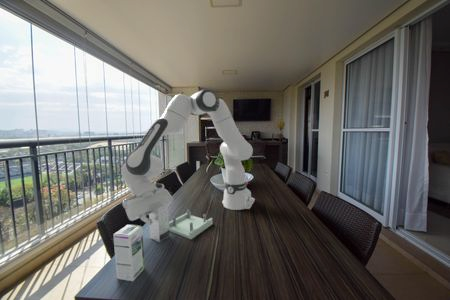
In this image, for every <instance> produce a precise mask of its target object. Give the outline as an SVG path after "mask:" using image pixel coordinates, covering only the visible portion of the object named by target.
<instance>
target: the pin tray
mask: <svg viewBox="0 0 450 300" xmlns="http://www.w3.org/2000/svg"><path fill="white" fill-rule="evenodd" d="M202 217H203V218H202ZM202 217H199V216H195V215H193V214H191V209H187V210H186V213H184V214H182V215H180V216H178V217H176V216H173V217H172V220H171V221H170V220H169V232H171V233H174V234H175V235H176V234H177V235H179V236H182V237H184V238H186V239H189V240H193V239H194V238H195V237H197V236H199V234H200V233H202V232H204V231H206V229H208V228H209V227H211V226H212V225H213V223H214V222H213V217H210V218H208V219H207V215H206V214H205V213H204V214H203V215H202Z"/></svg>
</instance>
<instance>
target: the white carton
mask: <svg viewBox="0 0 450 300" xmlns="http://www.w3.org/2000/svg"><path fill="white" fill-rule="evenodd" d="M168 206H169V205H168V204H165V203H161V202H157V203H154V204H151V205H149V207H150V209H151V211H150V212H149V214H148V219H151V220H152V221H153V223H152V224H151V225H149V237H150V240H154V241H155V242H158V243H161V242H163V241H165V240H166V239H168V238H169V237H170V231H169V222H170V220H169V218H170V217H169V216H170V215H169V213H168Z"/></svg>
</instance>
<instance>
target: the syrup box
mask: <svg viewBox="0 0 450 300" xmlns="http://www.w3.org/2000/svg"><path fill="white" fill-rule="evenodd" d="M143 233H144V232H143V226H142V225H138V224H126V225H125V226H124V227H122V228H120V229H119V230H118V231H116V232H115V233H113V245H114V246H113V247H114V259H115V260H114V261H115V269H116V271H115V272H116V278H117V280H122V281H128V282H134V281H135V280H136V278H137V277H138V276H139V275H140V274H141V273H143V271H144V270H145V268H146V263H145V262H146V261H145V249H144V235H143Z"/></svg>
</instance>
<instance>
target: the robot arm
mask: <svg viewBox="0 0 450 300" xmlns="http://www.w3.org/2000/svg"><path fill="white" fill-rule="evenodd" d="M204 114H207V115H208V116H209V117H210V118H211V121H212V123H213V126H214V128H215V130H216V133H217V135H218V137H220V138H221V139H222V141H223V142H221V144H220V145H219V152H220V153H221V155H222V158H223V162H224V167H225V168H224V169H225V183H224V185H225V188H224V190H223V200H222V201H221V203H222V205H223V207H224V208H226V209H227V210H231V211H240V210H241V211H242V210H250V209H251V208H252V206H253V204H254V203H255V200H256V199H255V198H254V197H252V192H251V190H250V189H248V188H247V185H248V183H249V182H248V181H247V180H246V179H245V178H246V176H245V175H246V172H245V167H244V166H243V163H242V161H246V160H250V158H251V157H252V155H253V152H254V149H253V147H252V145H251V144H250V143H249V141H247V140H246V139H245V138H244V136H243V135H242V133H241V132H240V131H239V128H238V127H237V125H236V122H235V120H234V118H233V115H232V113H231V111H230V109H229V107H228V105H227V104H226V101H224V99H221V98H219V97H218V96H217V94H216V93H215V92H214V91H213V90H212V89H207V88H206V89H205V88H204V89H200V90H198V91H196V92H195V93H193V94H192V95H190V96H188V95H185V94H183V93H178V94H176V95H174V97H173V98H172V99H171V100H170V101H169V102H168V105H167V106H166V108H165V109H164V112H163V113H162V115H161V116H160V117H159V118H157V119H156V120H154V122H153V123H152V124H151V126H150V127H149V128H148V130H147V131H146V132H145V134H144V135H143V137H142V139H141V140H140V142H138V144H137V145H136V147H135V148H134V149H132V151H131V152H130V153H129V154H128V155H127V157H126V159H125V163H124V164H123V165H122V166H121V168H120V173H121V176H122V179H123V181H124V183H125V184H126V186H127V187H128V188H129V192H130V193H131V195H132V196H131V197H126V198H124V199H123V201H122V202H121V203H122V207H123V209H125V213H126V216H127V219H128V220H129V221H131V222H133V221H136V220H138V219H140V220H141V221H142V222H144V223H146V225H147V226H148V227H150V225H151V224H152V223H153V221H152V220H151V219H149V217H147V216H149V212H150V211H151V209H150V207H149V205H151V204H154V203H157V202H161V203H165V204H168V213H169V216H171V212H170V205H171V204H172V203H173V202H174V198H173V196H172V195H171V193H170V192H169V190H167V189H166V188H165V185H164V184H163V183H154V182H151V180H154V179H155V178H158V177H159V176H160V175H162V174H163V172H164V170H165V163H164V161H163V159H161V158H160V157H158V156H155V155H153V152H154V150H155V148H156V147H157V145H158V144H159V142H160V141H161V139H162V138H163V137H164V136H167V135H176V134H179V133H181V132H182V130H183V129H184V127H185V126H186V124H187V122H188V119H189V117H190V116H191V115H192V116H201V115H204Z"/></svg>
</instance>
